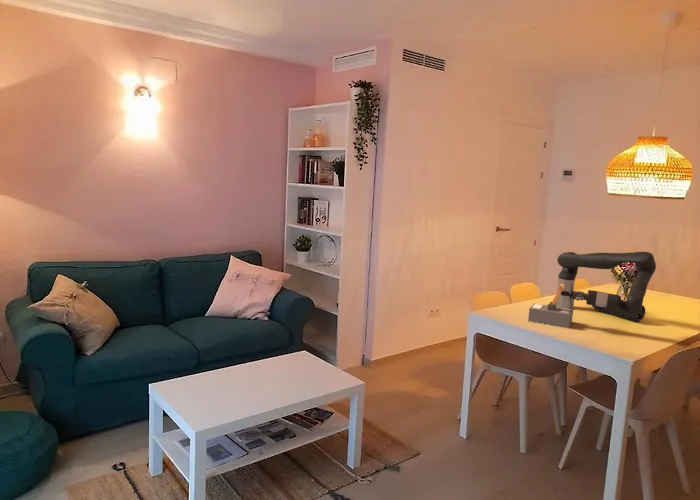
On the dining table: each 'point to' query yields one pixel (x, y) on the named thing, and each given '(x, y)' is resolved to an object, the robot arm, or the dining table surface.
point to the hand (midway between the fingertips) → (561, 292)
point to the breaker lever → (558, 294)
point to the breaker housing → (550, 315)
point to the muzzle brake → (622, 313)
